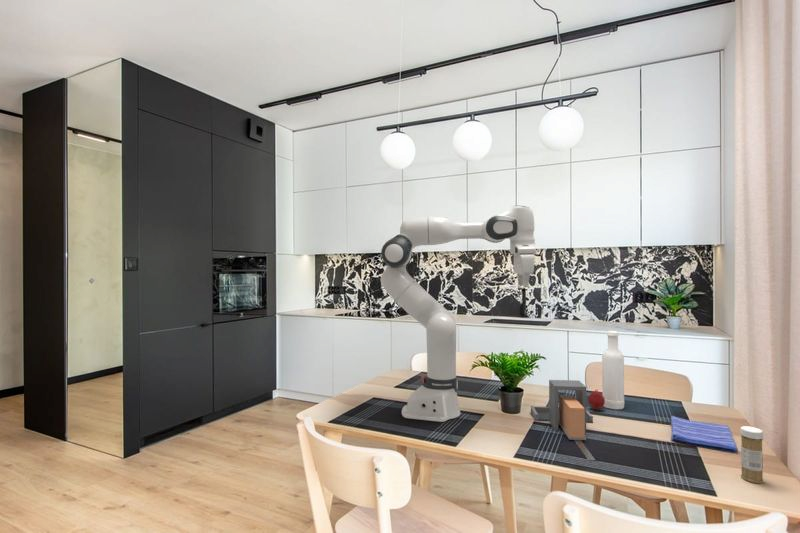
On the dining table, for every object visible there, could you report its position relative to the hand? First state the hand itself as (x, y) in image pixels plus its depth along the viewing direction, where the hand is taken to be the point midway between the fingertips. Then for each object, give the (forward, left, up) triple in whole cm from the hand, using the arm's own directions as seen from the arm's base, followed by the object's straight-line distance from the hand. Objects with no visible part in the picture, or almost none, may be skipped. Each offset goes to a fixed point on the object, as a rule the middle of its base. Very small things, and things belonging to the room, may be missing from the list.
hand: (523, 286), depth 159 cm
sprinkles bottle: (+51, -42, -49) cm, 82 cm away
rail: (+13, -20, -49) cm, 54 cm away
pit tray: (+13, 0, -49) cm, 51 cm away
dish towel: (+55, -12, -50) cm, 75 cm away
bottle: (+37, +15, -49) cm, 64 cm away
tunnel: (+13, -9, -49) cm, 51 cm away
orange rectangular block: (+13, -14, -49) cm, 52 cm away
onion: (+29, +10, -49) cm, 58 cm away
